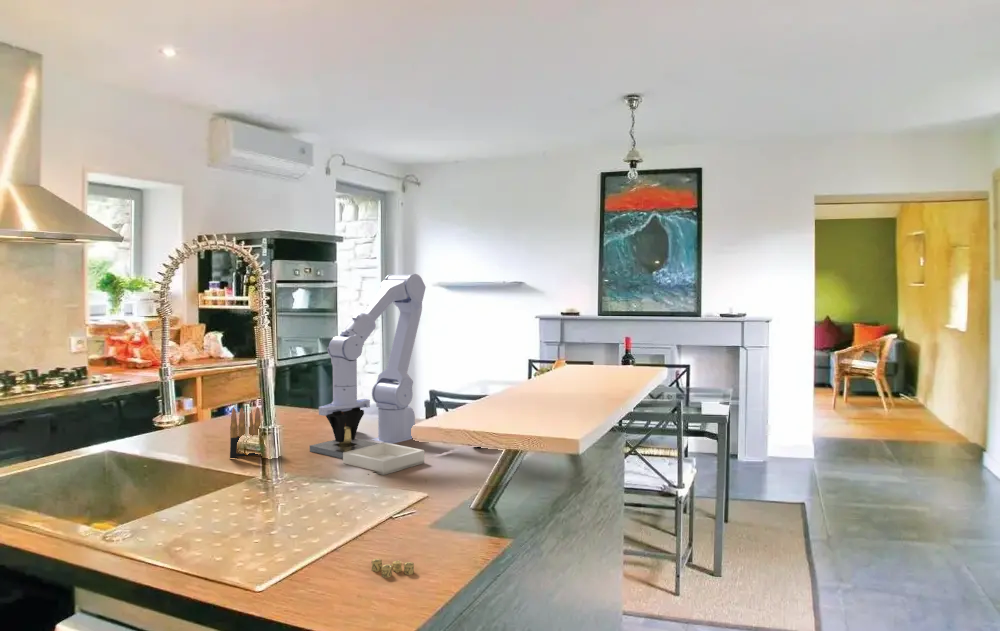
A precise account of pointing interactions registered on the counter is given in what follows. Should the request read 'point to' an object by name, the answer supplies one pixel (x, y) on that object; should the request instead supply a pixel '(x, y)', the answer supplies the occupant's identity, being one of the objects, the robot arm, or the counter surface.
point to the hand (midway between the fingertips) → (345, 440)
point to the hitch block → (338, 447)
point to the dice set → (388, 567)
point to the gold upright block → (346, 438)
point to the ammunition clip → (242, 431)
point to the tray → (384, 457)
